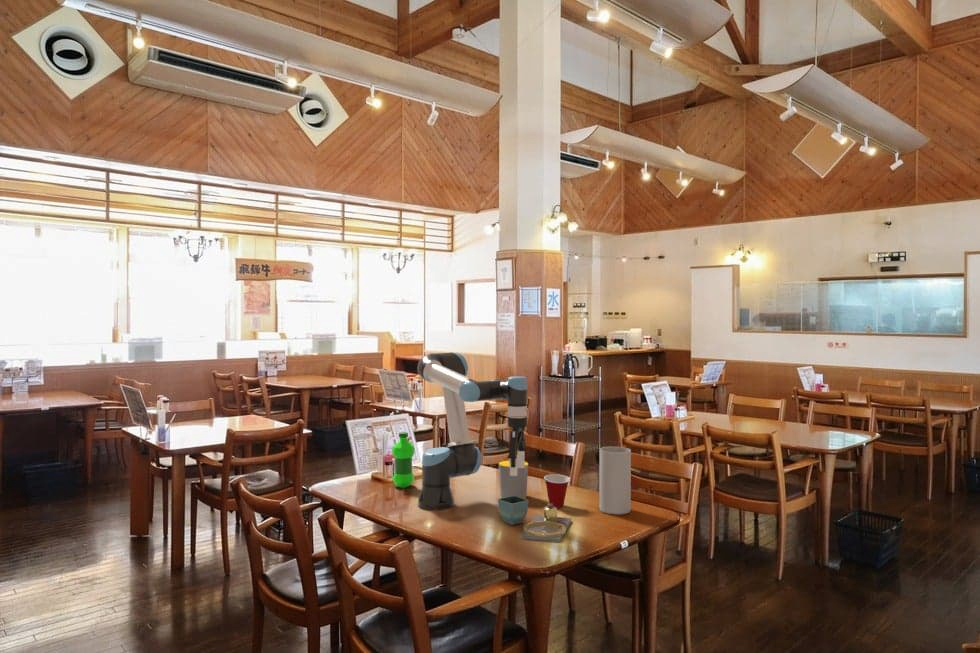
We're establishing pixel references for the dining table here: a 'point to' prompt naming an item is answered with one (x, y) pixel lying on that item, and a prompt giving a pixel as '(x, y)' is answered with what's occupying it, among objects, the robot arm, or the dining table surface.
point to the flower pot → (513, 509)
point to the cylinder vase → (615, 480)
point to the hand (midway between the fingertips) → (517, 471)
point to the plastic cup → (556, 489)
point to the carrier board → (546, 526)
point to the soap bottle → (512, 481)
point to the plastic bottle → (403, 461)
